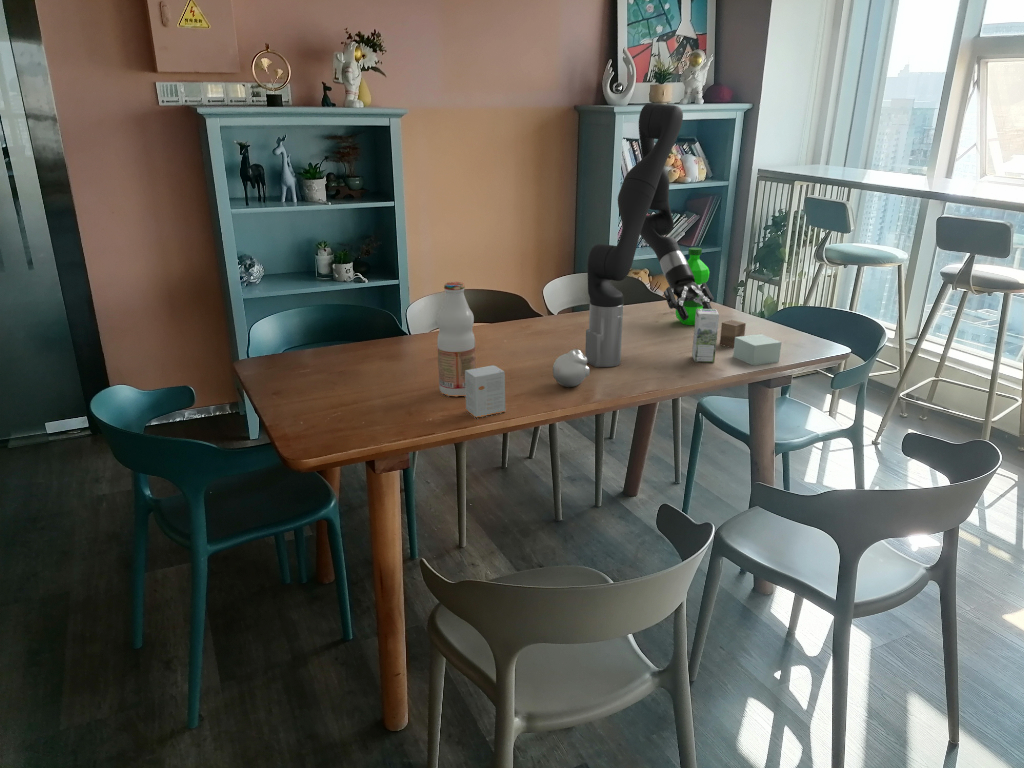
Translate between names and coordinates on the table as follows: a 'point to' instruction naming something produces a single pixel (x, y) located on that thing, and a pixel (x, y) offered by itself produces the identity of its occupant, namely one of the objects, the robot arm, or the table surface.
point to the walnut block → (731, 332)
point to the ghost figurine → (571, 368)
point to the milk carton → (705, 335)
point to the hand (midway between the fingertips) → (698, 317)
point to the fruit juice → (455, 340)
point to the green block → (757, 349)
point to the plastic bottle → (700, 277)
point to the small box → (485, 390)
